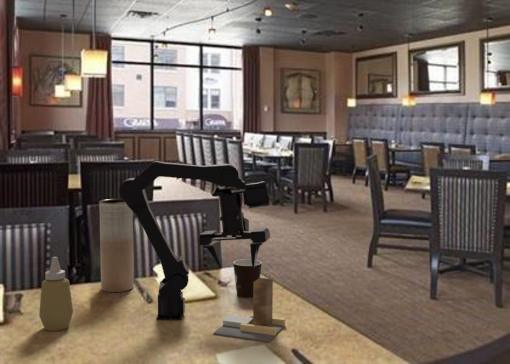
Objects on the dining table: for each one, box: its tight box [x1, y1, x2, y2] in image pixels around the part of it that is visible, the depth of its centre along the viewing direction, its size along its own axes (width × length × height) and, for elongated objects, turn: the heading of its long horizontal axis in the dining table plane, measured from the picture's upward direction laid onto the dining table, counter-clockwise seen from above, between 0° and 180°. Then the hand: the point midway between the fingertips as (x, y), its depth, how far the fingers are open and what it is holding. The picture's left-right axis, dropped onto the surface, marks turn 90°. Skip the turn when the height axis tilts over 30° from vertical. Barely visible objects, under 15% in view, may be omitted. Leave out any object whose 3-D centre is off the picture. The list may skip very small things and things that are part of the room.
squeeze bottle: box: [38, 256, 74, 332], centre depth 139 cm, size 8×8×18 cm
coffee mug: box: [232, 258, 262, 299], centre depth 170 cm, size 12×9×10 cm
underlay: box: [212, 313, 286, 343], centre depth 139 cm, size 14×12×2 cm
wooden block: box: [252, 277, 274, 327], centre depth 140 cm, size 4×4×12 cm
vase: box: [99, 198, 134, 293], centre depth 174 cm, size 10×10×28 cm
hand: (237, 267), depth 150 cm, fingers open, 9 cm apart
